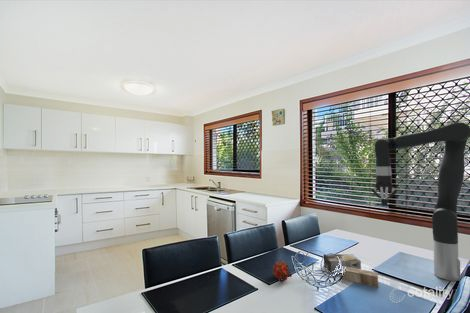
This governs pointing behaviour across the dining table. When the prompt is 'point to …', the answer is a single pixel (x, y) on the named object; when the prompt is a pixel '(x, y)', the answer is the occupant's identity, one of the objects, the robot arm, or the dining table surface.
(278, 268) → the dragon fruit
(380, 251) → the dining table surface
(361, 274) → the walnut pillar
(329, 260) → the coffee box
